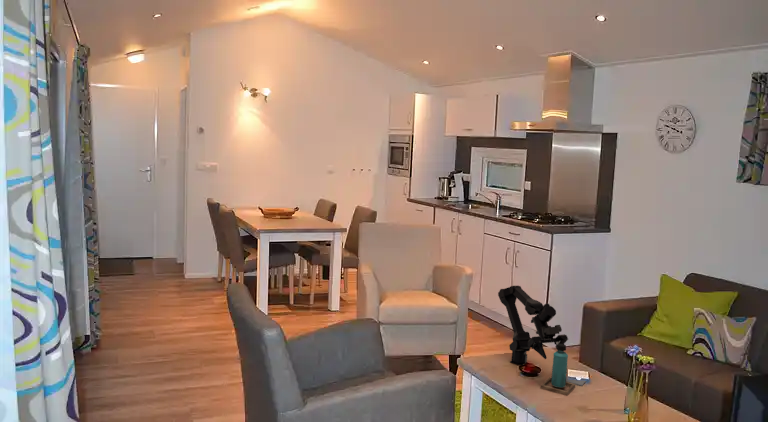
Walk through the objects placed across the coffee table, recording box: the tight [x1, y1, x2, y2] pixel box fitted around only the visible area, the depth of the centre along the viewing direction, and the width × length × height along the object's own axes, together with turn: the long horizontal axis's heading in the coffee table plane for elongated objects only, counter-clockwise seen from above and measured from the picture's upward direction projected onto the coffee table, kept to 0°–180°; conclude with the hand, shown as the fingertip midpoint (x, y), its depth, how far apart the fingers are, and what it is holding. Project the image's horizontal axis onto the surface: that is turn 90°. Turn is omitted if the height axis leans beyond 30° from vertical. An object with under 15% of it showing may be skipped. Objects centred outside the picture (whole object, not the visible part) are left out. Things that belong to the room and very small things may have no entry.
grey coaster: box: [566, 378, 587, 387], centre depth 301 cm, size 10×10×1 cm
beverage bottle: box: [550, 343, 569, 388], centre depth 290 cm, size 6×7×20 cm
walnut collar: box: [539, 377, 576, 396], centre depth 291 cm, size 12×12×2 cm
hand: (554, 358), depth 294 cm, fingers open, 9 cm apart
